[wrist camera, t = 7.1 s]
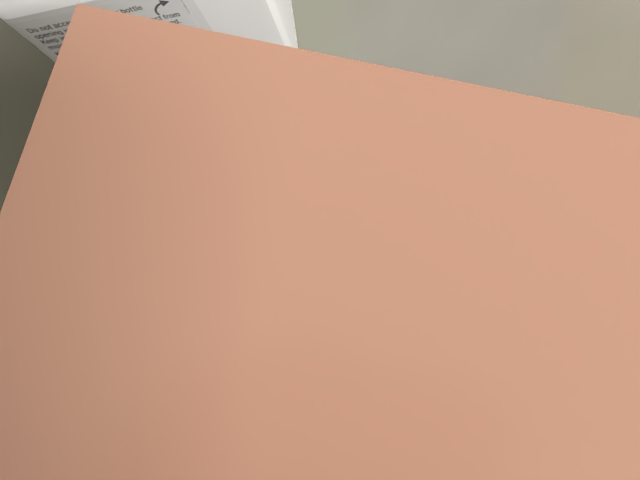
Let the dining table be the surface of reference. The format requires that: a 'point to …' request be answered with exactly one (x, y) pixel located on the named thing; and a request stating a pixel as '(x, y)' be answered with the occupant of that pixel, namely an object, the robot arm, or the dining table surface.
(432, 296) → the peach colored cube
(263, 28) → the container
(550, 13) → the dining table surface
